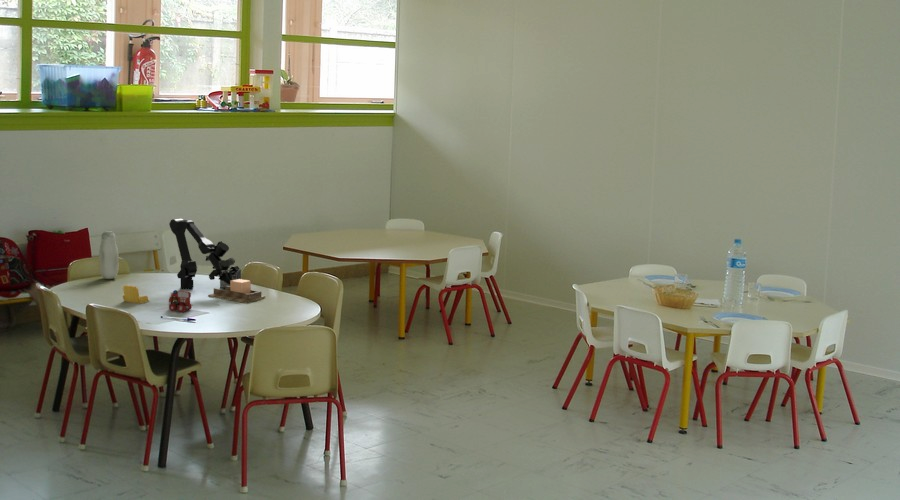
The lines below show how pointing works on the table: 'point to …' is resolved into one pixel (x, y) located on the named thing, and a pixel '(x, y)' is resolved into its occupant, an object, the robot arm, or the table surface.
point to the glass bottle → (108, 255)
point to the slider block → (240, 286)
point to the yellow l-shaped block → (133, 295)
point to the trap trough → (236, 295)
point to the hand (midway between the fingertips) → (232, 284)
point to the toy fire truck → (180, 301)
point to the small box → (234, 277)
